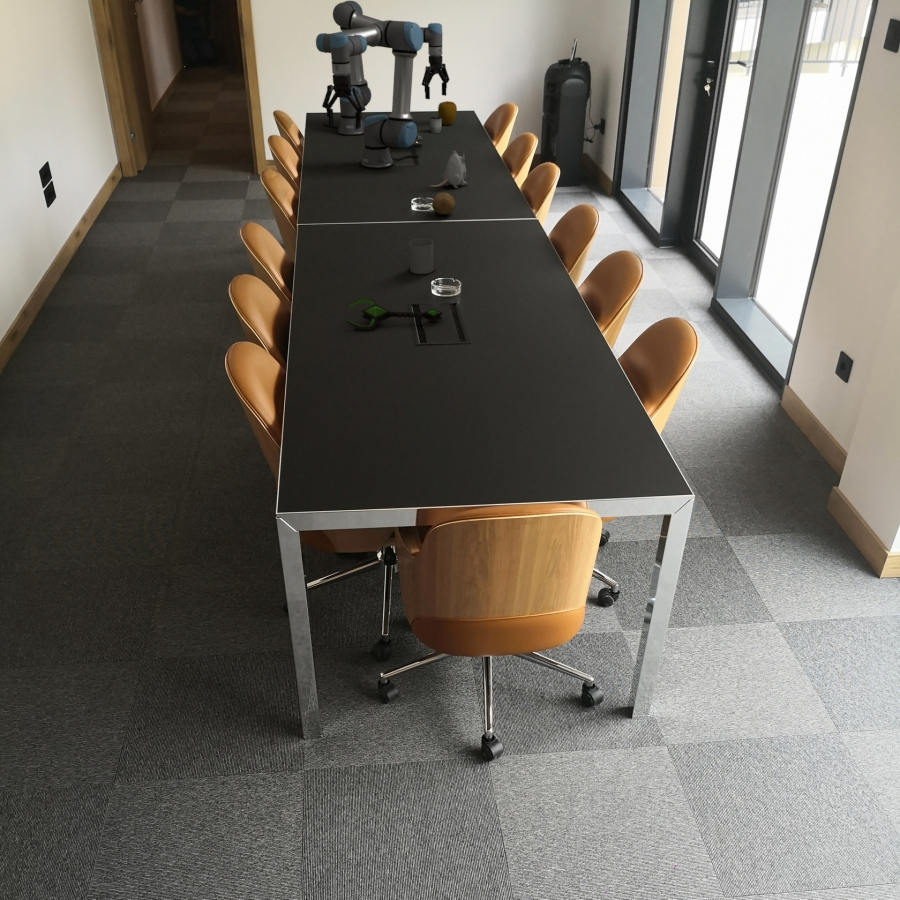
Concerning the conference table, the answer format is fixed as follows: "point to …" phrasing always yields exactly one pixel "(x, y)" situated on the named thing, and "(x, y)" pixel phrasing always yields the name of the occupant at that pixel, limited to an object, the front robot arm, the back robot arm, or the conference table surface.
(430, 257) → the cup
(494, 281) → the conference table surface
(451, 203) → the potato
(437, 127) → the camera lens
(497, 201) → the conference table surface
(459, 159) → the toy
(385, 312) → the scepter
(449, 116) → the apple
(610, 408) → the conference table surface
